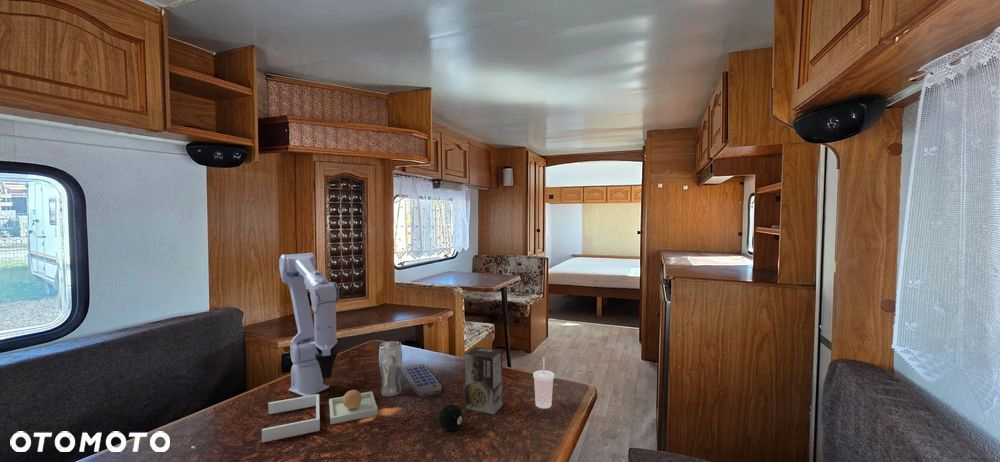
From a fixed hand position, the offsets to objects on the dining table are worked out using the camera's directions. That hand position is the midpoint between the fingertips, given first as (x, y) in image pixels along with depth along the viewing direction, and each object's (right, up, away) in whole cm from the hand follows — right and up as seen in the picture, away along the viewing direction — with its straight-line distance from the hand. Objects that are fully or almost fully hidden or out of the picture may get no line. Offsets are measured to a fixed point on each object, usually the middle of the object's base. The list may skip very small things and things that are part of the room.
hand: (326, 372), depth 115 cm
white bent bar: (-5, -10, -8) cm, 14 cm away
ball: (+8, -10, -2) cm, 13 cm away
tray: (+8, -10, -2) cm, 13 cm away
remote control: (+23, -10, +18) cm, 31 cm away
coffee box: (+45, -10, 0) cm, 46 cm away
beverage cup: (+62, -10, +1) cm, 63 cm away
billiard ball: (+37, -11, -12) cm, 40 cm away
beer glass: (+16, -10, +9) cm, 21 cm away
